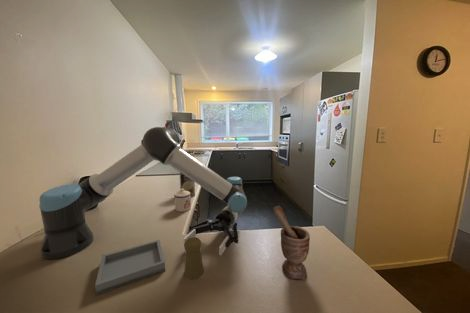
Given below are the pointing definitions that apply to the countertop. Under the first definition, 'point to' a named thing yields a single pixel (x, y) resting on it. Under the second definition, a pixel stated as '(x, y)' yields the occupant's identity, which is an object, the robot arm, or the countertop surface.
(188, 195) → the teacup with lid
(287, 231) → the mortar and pestle
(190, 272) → the cork
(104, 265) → the tray
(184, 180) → the coffee box
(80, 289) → the countertop surface
